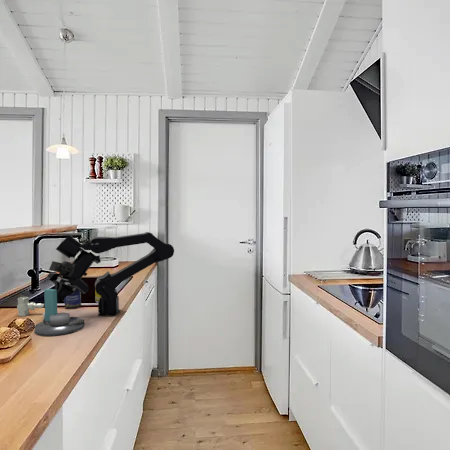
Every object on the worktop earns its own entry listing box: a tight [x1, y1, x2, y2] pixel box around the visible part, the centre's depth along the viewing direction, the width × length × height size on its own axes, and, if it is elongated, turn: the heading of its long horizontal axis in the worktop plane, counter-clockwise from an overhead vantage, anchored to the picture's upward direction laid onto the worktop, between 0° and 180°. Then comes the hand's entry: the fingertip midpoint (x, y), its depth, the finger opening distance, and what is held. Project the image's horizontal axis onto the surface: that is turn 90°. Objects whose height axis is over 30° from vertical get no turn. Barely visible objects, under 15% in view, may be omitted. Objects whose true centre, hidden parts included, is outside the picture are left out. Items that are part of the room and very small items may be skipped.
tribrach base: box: [33, 312, 86, 337], centre depth 118 cm, size 15×15×4 cm
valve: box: [16, 296, 45, 317], centre depth 134 cm, size 7×7×12 cm
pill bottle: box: [63, 288, 82, 310], centre depth 144 cm, size 6×6×11 cm
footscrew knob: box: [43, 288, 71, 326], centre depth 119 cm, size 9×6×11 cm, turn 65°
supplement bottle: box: [94, 277, 101, 304], centre depth 152 cm, size 5×5×10 cm
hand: (51, 303), depth 121 cm, fingers closed, pressing on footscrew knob
